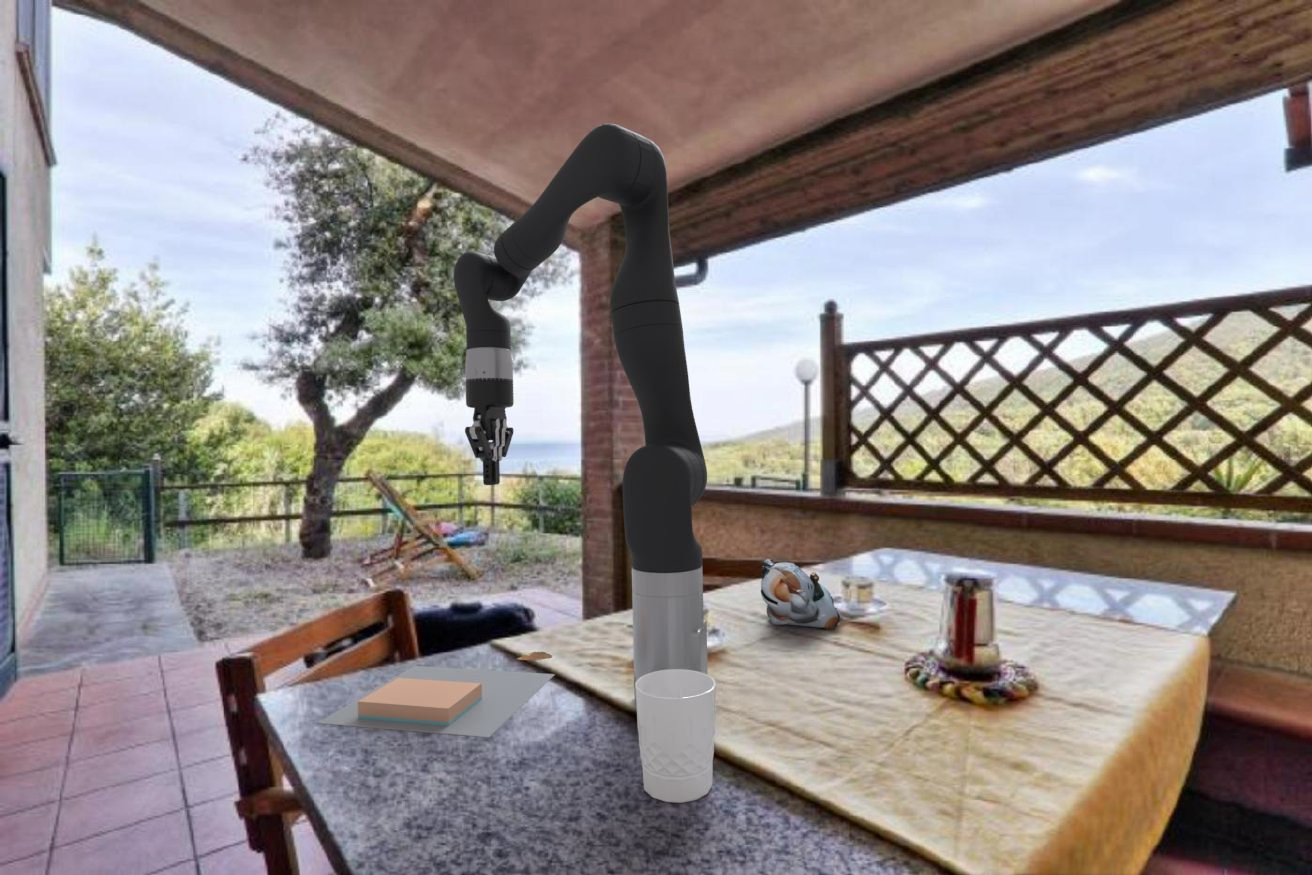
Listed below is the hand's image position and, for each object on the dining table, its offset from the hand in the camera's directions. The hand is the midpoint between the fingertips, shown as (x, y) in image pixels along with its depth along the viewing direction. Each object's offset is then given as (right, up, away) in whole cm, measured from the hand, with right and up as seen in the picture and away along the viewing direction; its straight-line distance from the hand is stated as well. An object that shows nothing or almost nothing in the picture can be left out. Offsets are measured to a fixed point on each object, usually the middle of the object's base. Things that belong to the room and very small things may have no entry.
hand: (491, 484), depth 108 cm
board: (0, -27, -22) cm, 35 cm away
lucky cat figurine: (+53, -26, +12) cm, 60 cm away
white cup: (+29, -27, -43) cm, 58 cm away
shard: (+11, -28, -6) cm, 31 cm away
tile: (-1, -25, -22) cm, 33 cm away
